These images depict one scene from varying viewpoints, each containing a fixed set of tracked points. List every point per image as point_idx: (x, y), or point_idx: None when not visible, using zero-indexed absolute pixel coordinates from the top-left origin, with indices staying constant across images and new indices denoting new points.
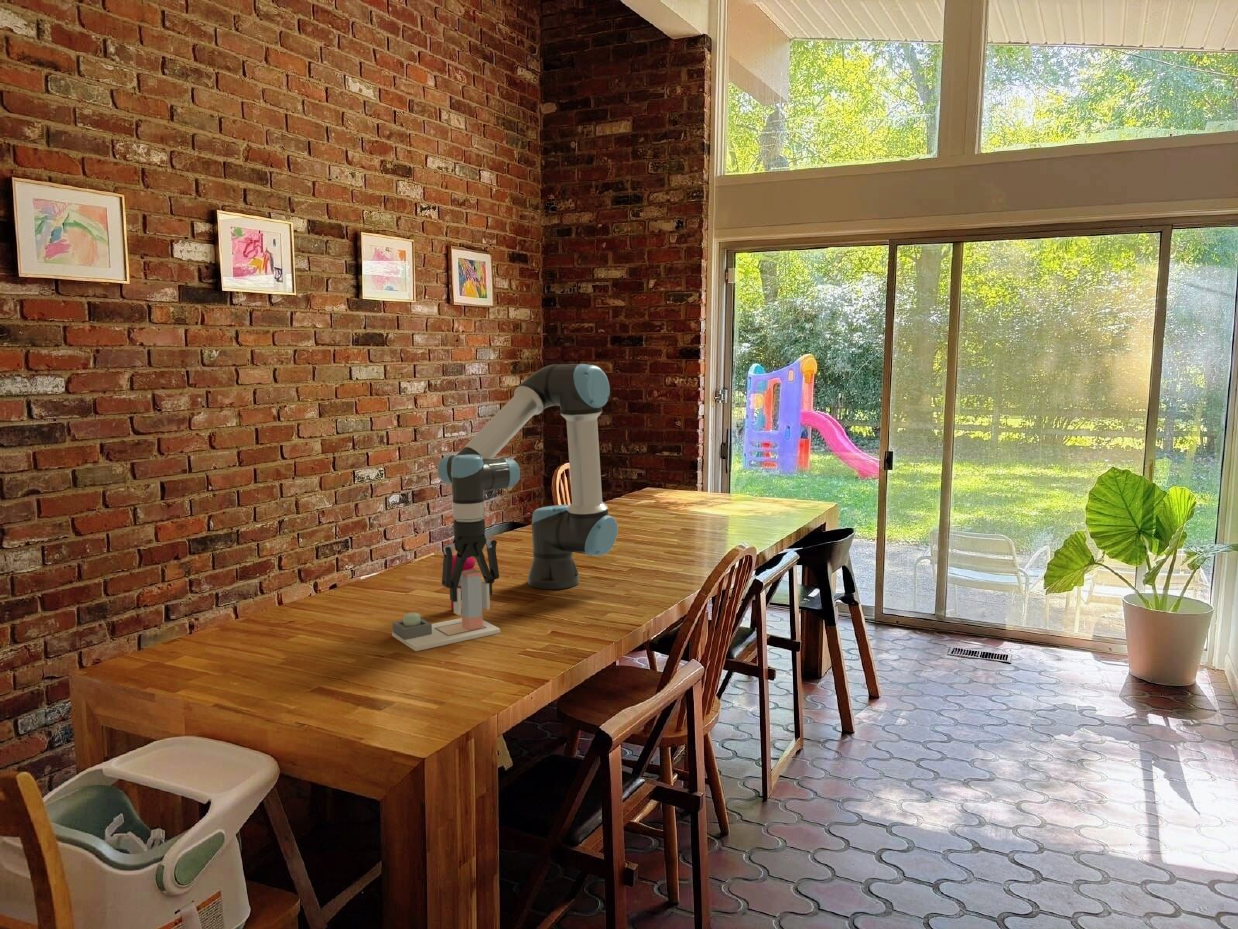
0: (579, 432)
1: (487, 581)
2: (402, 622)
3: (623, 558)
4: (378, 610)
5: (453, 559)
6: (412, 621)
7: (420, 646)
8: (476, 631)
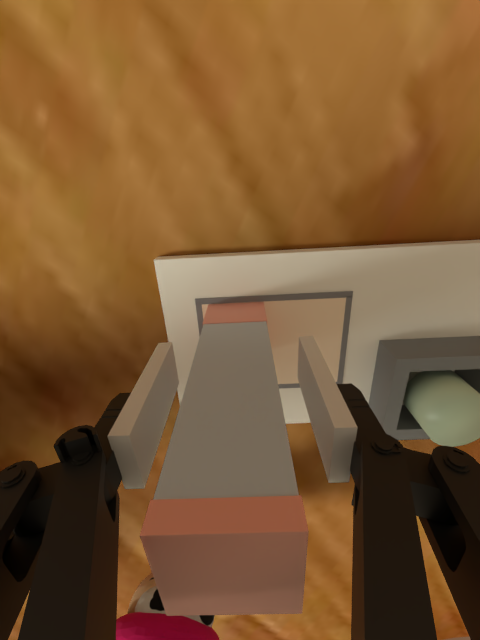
0: None
1: (108, 461)
2: None
3: None
4: (351, 562)
5: None
6: (469, 387)
7: None
8: (243, 282)
